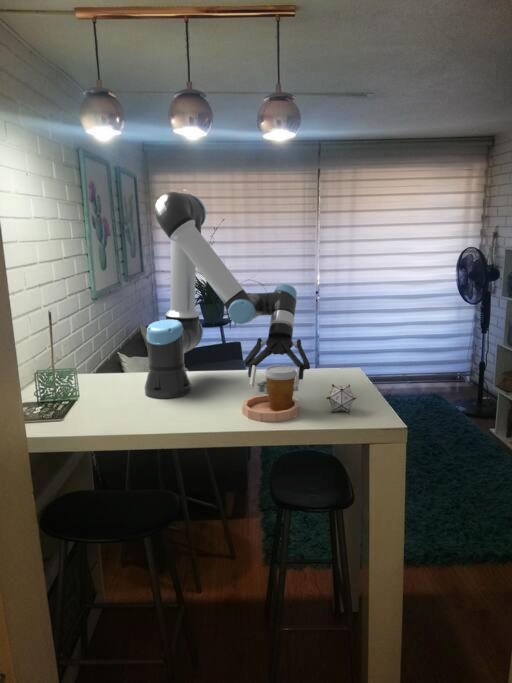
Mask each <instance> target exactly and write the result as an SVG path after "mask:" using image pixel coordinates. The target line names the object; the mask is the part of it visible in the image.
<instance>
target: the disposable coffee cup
mask: <svg viewBox="0 0 512 683" xmlns="http://www.w3.org/2000/svg"><path fill="white" fill-rule="evenodd" d="M296 370H297V369H296V368H295V367H294V366H291V365H284V364H277V365H270V366H267V367H266V368H265V371H264V372H263V374H264V377H265V381H267V388H268V394H267V395H268V396H269V403H270V409H272V410H274V411H283V410H288V409H290V408H291V406H292V398H293V397H294V391H295V390H294V389H295V379H296V375H297V372H296Z"/></svg>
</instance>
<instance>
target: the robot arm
mask: <svg viewBox="0 0 512 683" xmlns="http://www.w3.org/2000/svg"><path fill="white" fill-rule="evenodd" d="M206 210H207V209H206V207H205V205H204V203H203V202H202V200H201V199H200V198H198V197H197V196H195V195H193V194H191V193H181V192H177V191H169V192H166V193H163V194H162V195H160V197H159V198H158V199H157V201H156V202H155V205H154V216H155V219H156V222H157V224H158V225H159V227H160V228H161V230H163V232H164V233H165V235H166V236H167V237H168V238H169V239H170V286H169V287H170V289H169V290H170V301H169V302H170V305H169V306H170V307H169V310H168V311H166V313H165V319H161V320H156V321H153V322H152V323H150V324H148V326H147V328H146V336H145V337H146V343H147V345H146V346H147V347H146V348H147V356H148V357H147V358H148V359H147V360H148V372H147V377H146V381H145V384H144V393H145V395H146V396H147V397H150V398H156V399H172V398H177V397H178V398H179V397H182V396H185V395H187V394H189V393H190V392H191V388H192V387H191V381H190V379H189V376H188V374H187V371H186V369H185V354H186V353H188V352H189V351H190V352H191V351H193V349H195V348H196V347H197V346H198V345H199V344H200V342H202V339H203V336H204V328H203V325H202V323H201V322H200V313H198V312H197V310H196V275H197V274H196V271H198V272H199V274H201V275H202V277H203V278H204V279H205V281H206V282H207V283H208V284H209V286H210V287H211V288H212V289H213V291H214V292H215V294H216V295H217V296H218V297H219V299H220V300H221V301H222V303H223V304H224V305H225V306H226V308H227V309H228V312H227V313H228V316H229V319H230V320H231V321H232V322H234V323H235V324H237V325H238V324H239V325H245V324H248V323H250V322H251V321H253V319H256V318H257V317H259V316H260V317H261V316H270V323H269V329H268V336H267V339H266V340H264V339H262V338H260V337H259V338H257V340H256V344H255V345H254V347H253V348H252V349H251V350H250V352H249V353H248V355H247V356H246V357H245V358H244V360H243V364H244V366H245V367H246V368H248V371H247V375H248V378H250V379H249V387H250V389H254V387H255V379H256V375H257V374H256V372H257V368H256V367H258V365H259V364H260V363H261V362H263V361H264V360H265V359H266V358H268V357H269V356H271V355H272V354H273V355H282V356H283V355H287V356H288V357H289V359H290V360H291V361H292V362H293V364H295V366H296V369H295V370H296V372H297V375H296V377H295V382H294V389H295V390H294V391H297V392H299V385H300V380H301V381H302V380H303V379H304V372H305V371H306V370H310V368H311V364H310V362H309V359H308V357H307V356H306V353H305V351H304V349H303V346H302V341H301V339H300V338H299V339H297V340H294V341H293V334H294V330H293V329H294V323H295V315H296V307H297V306H296V305H297V303H298V302H297V294H298V293H297V290H296V288H295V287H294V286H292V285H290V284H288V283H287V284H286V283H285V284H280V285H277V286H276V287H275V289H274V292H257V293H256V292H255V293H250V292H246V291H245V289H244V288H243V287H242V285H241V284H240V283H239V281H238V280H237V278H236V277H235V276H234V274H232V272H231V271H230V269H229V268H228V267H227V266H226V264H225V263H224V262H223V260H222V259H221V258H220V256H218V254H217V253H216V252H215V250H214V249H213V247H211V246H210V243H208V241H207V240H206V239H205V237H204V236H203V235H202V226H203V225H204V223H205V221H206V218H207V212H206ZM265 345H266V347H265ZM293 347H294V348H295V349H297V351H298V354H299V355H300V358H301V360H302V362H301V360H300V359H299V358H298V356H296V354H295V353H294V352H293V350H292V349H291V348H293ZM262 348H264V349H263V350H262ZM261 350H262V351H261ZM260 351H261V352H260Z"/></svg>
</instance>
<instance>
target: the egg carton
mask: <svg viewBox="0 0 512 683" xmlns="http://www.w3.org/2000/svg"><path fill="white" fill-rule="evenodd" d="M255 384H256V386H257V392H259V393H262V392H263V393H264V395H268V388H267V381H266V380H262V381H261V382H257V383H255Z"/></svg>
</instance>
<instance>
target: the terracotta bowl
mask: <svg viewBox="0 0 512 683" xmlns="http://www.w3.org/2000/svg"><path fill="white" fill-rule="evenodd" d="M299 403H300V402H299V401H298V400H297V399H295V398H292V406H291V408H290V409H288V410H283V411H274V410H272V409H270V403H269V396H268V394H259V395H256V396H255V395H254V396H250V397H249V398H246V399H244V400H243V402H242V404H241V408H242V409H241V411H242V414H243V416H245V417H246V418H247V419H249V420H254V421H258V422H265V423H267V422H272V423H273V422H275V423H277V422H283V421H288V420H292V419H294V418H295V417H297V416H299V409H300V404H299Z"/></svg>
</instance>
